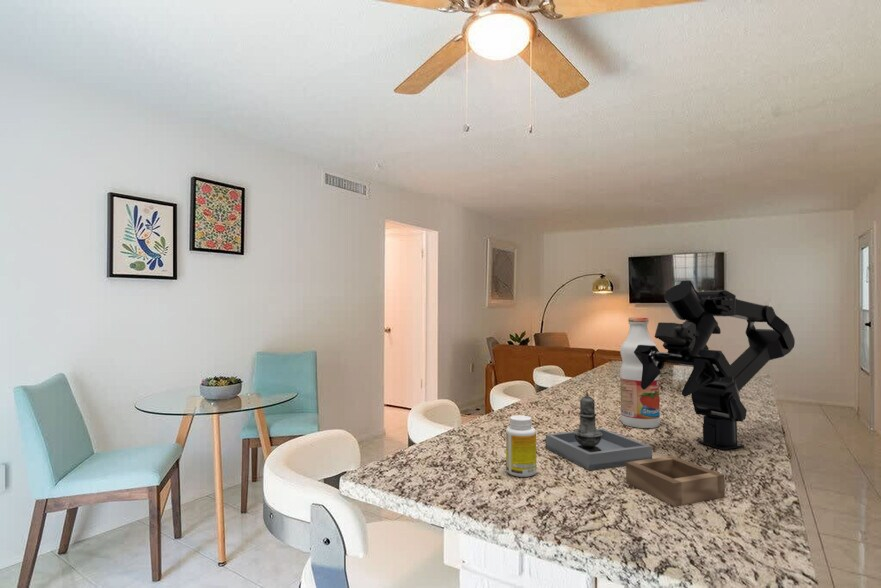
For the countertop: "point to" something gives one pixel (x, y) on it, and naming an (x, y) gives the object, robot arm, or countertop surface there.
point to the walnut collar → (675, 480)
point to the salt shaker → (587, 426)
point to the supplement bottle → (521, 447)
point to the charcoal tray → (611, 455)
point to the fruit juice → (637, 380)
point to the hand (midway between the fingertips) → (662, 391)
